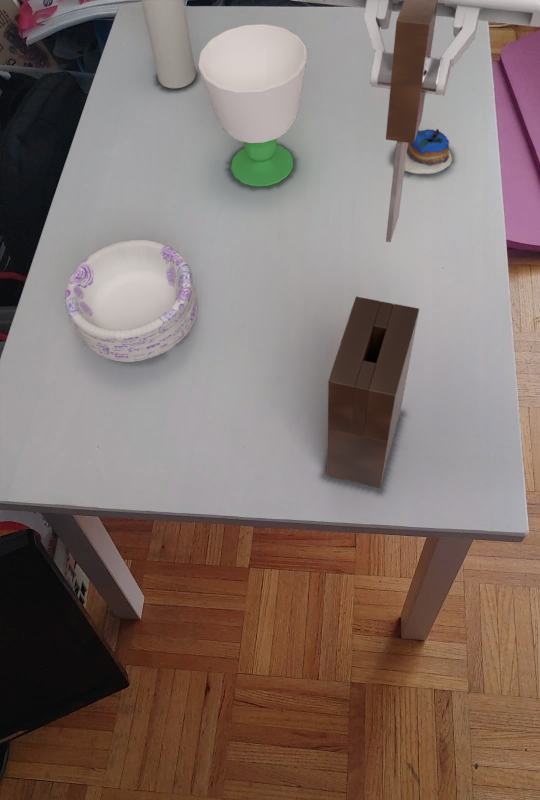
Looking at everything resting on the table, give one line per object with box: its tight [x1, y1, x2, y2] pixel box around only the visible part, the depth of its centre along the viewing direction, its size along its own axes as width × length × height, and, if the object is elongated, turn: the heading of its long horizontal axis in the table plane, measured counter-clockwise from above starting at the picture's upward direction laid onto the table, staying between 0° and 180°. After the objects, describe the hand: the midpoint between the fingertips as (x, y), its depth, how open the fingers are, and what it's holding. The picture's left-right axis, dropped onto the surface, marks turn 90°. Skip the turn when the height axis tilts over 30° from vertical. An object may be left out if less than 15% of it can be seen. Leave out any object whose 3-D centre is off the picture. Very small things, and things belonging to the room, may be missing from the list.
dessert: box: [393, 128, 453, 175], centre depth 98 cm, size 8×7×6 cm
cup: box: [198, 23, 308, 187], centre depth 94 cm, size 14×14×16 cm
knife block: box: [326, 296, 420, 489], centre depth 71 cm, size 6×10×18 cm, turn 163°
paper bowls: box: [64, 239, 199, 363], centre depth 85 cm, size 15×15×8 cm
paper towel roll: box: [140, 0, 197, 89], centre depth 102 cm, size 7×6×21 cm
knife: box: [385, 0, 438, 243], centre depth 49 cm, size 2×3×17 cm, turn 163°
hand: (406, 89), depth 46 cm, fingers closed on knife, 2 cm apart
